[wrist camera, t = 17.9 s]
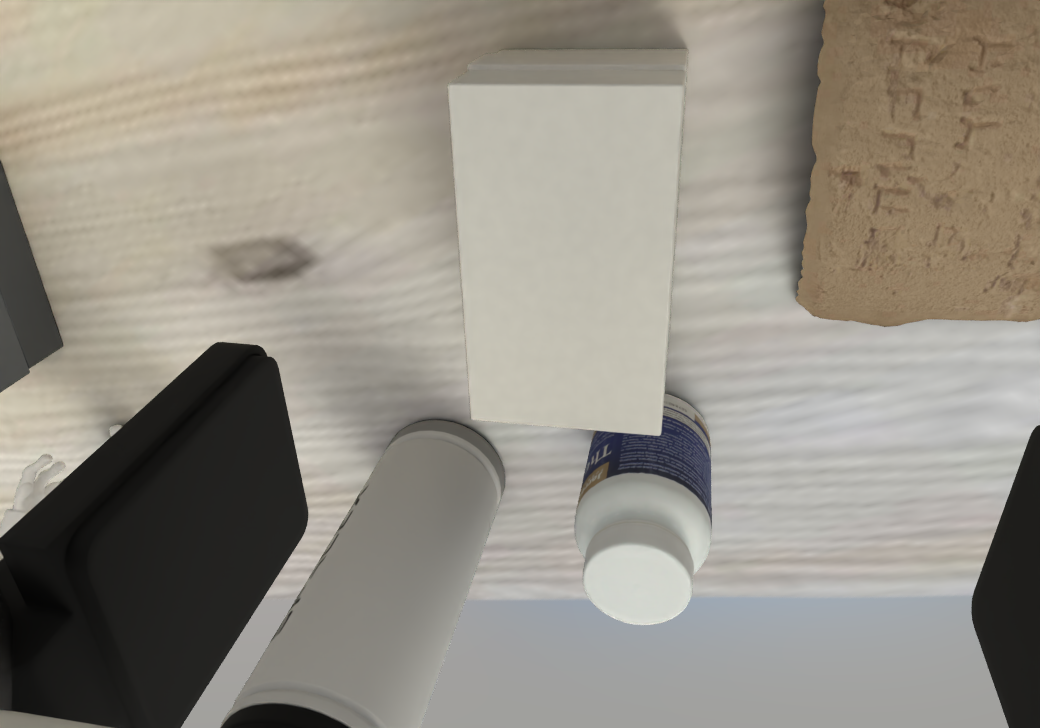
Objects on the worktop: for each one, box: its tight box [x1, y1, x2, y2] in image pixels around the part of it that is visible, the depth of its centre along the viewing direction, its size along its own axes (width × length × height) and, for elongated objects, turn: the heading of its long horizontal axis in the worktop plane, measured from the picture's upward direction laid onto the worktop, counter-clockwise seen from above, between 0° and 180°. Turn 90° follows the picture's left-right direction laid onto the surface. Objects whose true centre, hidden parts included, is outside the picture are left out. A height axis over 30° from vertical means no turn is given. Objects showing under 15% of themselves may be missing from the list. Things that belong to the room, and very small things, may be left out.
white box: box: [447, 70, 686, 436], centre depth 27 cm, size 12×7×2 cm, turn 2°
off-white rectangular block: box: [467, 49, 688, 368], centre depth 31 cm, size 12×7×5 cm, turn 2°
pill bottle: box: [574, 394, 712, 625], centre depth 33 cm, size 5×5×10 cm
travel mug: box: [220, 420, 505, 728], centre depth 32 cm, size 6×7×20 cm
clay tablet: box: [796, 0, 1040, 327], centre depth 28 cm, size 14×10×3 cm
